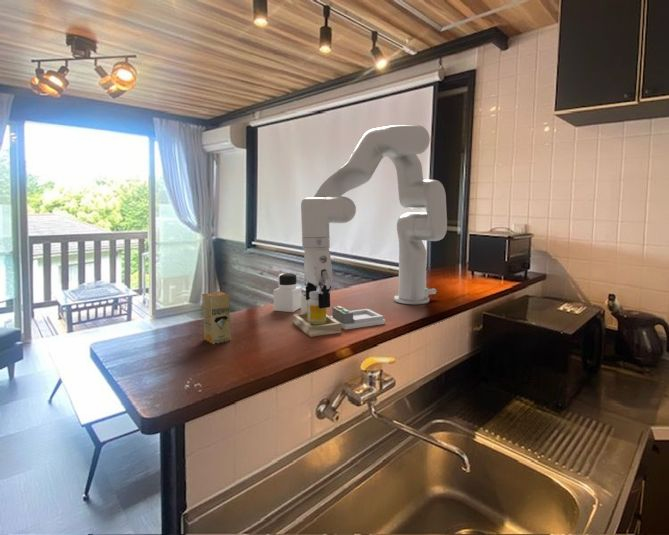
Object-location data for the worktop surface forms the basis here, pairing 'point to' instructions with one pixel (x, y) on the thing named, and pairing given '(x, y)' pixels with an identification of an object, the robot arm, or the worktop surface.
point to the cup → (303, 303)
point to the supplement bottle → (315, 310)
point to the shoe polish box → (216, 317)
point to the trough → (328, 328)
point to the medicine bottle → (287, 293)
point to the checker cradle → (356, 317)
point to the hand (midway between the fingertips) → (317, 303)
